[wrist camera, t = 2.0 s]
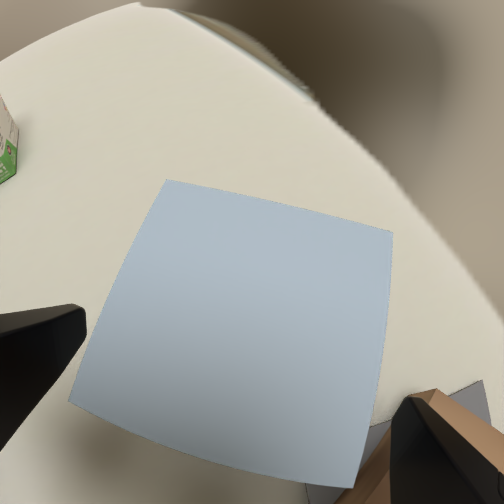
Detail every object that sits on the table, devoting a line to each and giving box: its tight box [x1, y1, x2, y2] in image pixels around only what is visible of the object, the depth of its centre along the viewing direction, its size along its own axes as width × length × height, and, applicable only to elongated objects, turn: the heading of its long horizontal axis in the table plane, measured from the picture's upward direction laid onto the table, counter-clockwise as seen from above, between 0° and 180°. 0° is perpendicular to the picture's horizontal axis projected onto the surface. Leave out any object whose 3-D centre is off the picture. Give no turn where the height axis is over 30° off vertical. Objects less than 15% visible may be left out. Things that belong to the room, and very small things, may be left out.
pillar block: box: [68, 179, 393, 488], centre depth 11 cm, size 6×6×11 cm
